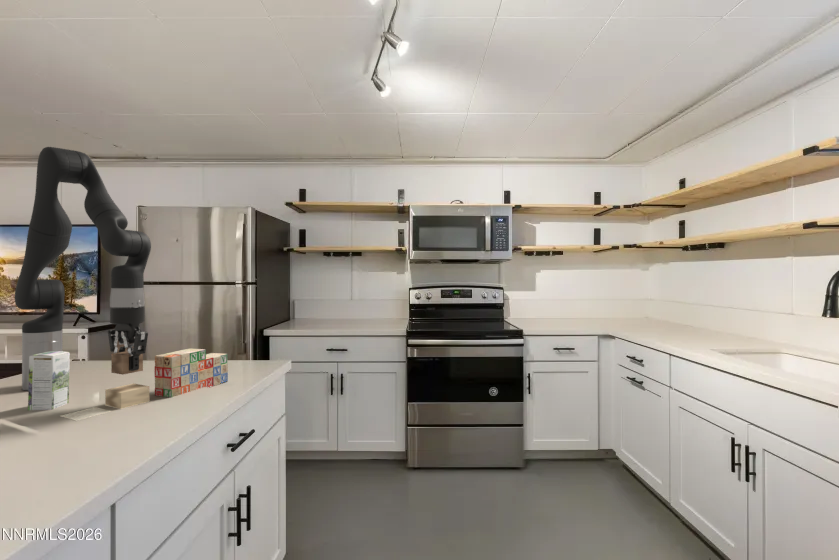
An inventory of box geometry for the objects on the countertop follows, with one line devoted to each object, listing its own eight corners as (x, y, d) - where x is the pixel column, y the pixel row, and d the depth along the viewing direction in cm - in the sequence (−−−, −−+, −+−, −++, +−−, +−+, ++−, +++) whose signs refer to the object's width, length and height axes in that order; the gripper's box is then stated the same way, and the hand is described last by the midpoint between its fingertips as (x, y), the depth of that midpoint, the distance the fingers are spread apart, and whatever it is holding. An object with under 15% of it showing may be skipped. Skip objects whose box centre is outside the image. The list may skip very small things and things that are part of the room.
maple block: (105, 404, 107) (105, 389, 107) (133, 397, 113) (133, 383, 113) (121, 408, 104) (121, 392, 104) (149, 401, 110) (149, 386, 110)
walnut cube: (111, 372, 107) (111, 353, 107) (131, 368, 112) (131, 350, 112) (122, 374, 105) (122, 355, 105) (142, 370, 110) (142, 352, 110)
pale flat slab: (44, 414, 101) (44, 411, 101) (120, 396, 117) (120, 394, 117) (78, 424, 95) (78, 421, 95) (153, 403, 110) (153, 401, 110)
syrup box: (46, 405, 108) (46, 351, 108) (70, 405, 109) (70, 350, 109) (27, 412, 103) (27, 355, 103) (52, 412, 103) (52, 354, 103)
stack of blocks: (212, 380, 136) (212, 343, 136) (228, 382, 134) (228, 344, 134) (154, 398, 116) (154, 355, 116) (171, 400, 114) (171, 356, 114)
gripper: (96, 305, 108) (96, 369, 108) (128, 306, 102) (128, 375, 102) (126, 303, 115) (126, 364, 115) (158, 305, 109) (158, 369, 109)
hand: (127, 369), depth 109 cm, fingers closed on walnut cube, 5 cm apart
